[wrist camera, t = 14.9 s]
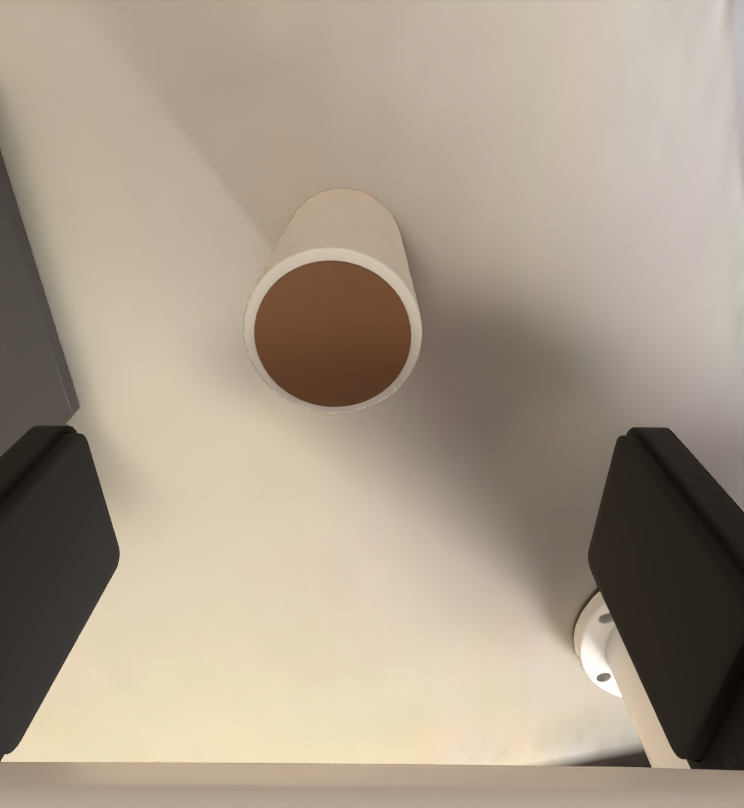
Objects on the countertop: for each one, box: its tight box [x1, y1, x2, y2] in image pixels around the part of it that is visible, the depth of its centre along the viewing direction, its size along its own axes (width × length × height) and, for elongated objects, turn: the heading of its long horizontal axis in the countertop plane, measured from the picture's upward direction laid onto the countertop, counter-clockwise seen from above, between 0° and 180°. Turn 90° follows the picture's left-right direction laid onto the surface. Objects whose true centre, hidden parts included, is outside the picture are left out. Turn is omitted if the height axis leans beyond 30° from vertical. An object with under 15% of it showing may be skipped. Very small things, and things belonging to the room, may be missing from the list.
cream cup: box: [243, 188, 422, 413], centre depth 18 cm, size 5×5×9 cm
